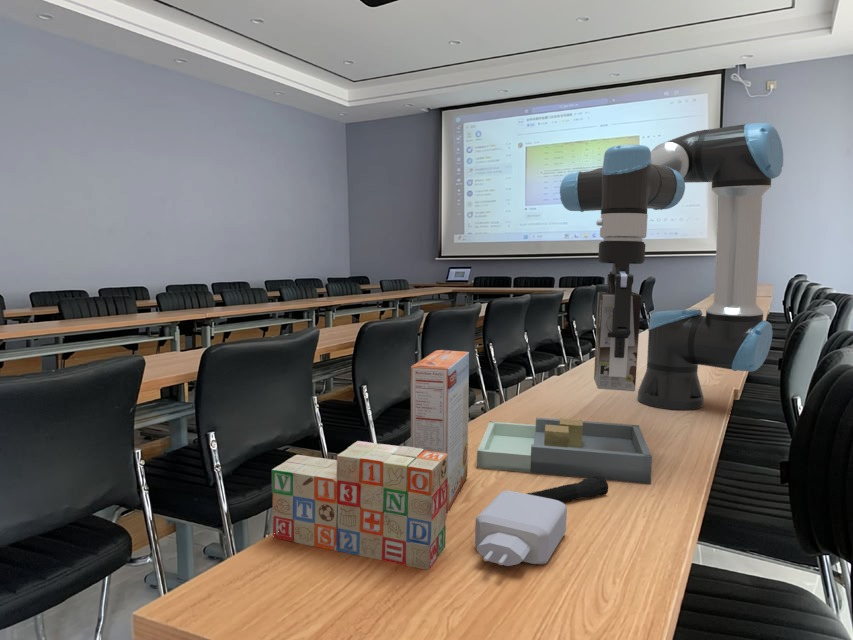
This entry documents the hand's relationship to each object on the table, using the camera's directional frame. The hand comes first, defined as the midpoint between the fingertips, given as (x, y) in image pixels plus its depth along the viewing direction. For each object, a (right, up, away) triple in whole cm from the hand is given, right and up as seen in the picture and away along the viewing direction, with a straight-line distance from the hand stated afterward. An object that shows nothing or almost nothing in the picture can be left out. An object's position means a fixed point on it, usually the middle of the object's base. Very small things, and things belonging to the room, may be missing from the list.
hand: (615, 370), depth 106 cm
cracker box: (-31, -18, -13) cm, 38 cm away
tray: (-18, -16, +6) cm, 24 cm away
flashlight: (-13, -19, -16) cm, 28 cm away
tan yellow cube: (-10, -14, +1) cm, 17 cm away
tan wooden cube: (-6, -14, +6) cm, 16 cm away
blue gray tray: (-4, -16, +3) cm, 17 cm away
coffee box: (0, -3, 0) cm, 3 cm away
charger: (-22, -20, -31) cm, 43 cm away
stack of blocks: (-41, -20, -29) cm, 54 cm away
